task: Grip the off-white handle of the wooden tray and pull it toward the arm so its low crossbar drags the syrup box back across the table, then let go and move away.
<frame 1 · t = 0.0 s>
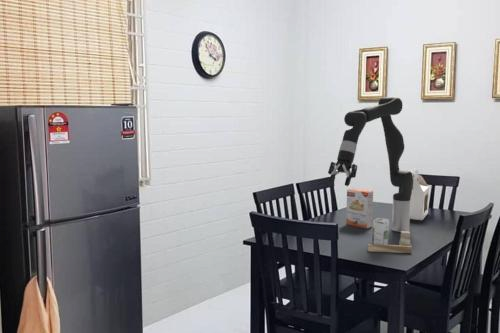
hand: (338, 184, 237), 31 cm above the table, tool tilted 20°, fingers open, 8 cm apart
cracker box: (358, 226, 288), on the table
gable box: (414, 216, 316), on the table
syrup box: (379, 249, 242), on the table
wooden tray: (388, 239, 243), point 4 cm above the table, slide at 0.0 cm
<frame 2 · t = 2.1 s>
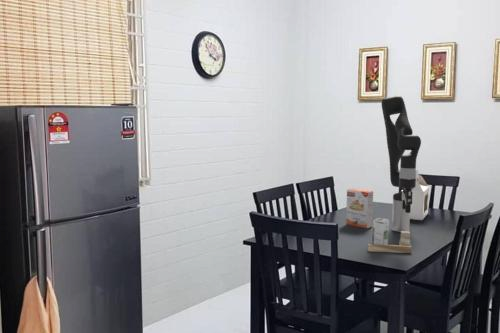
hand: (406, 210, 240), 19 cm above the table, tool pointing down, fingers open, 8 cm apart
nothing on the table moved.
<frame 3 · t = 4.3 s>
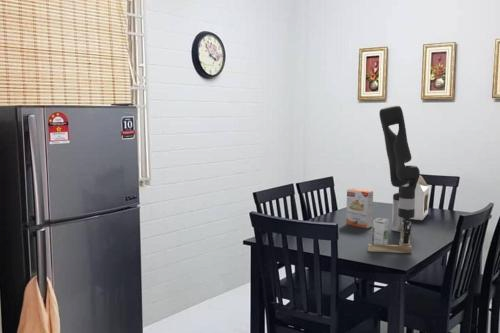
hand: (405, 242, 242), 3 cm above the table, tool pointing down, fingers closed on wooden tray, 3 cm apart
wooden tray: (388, 239, 243), point 4 cm above the table, slide at 0.0 cm, touching gripper
everything else where it was.
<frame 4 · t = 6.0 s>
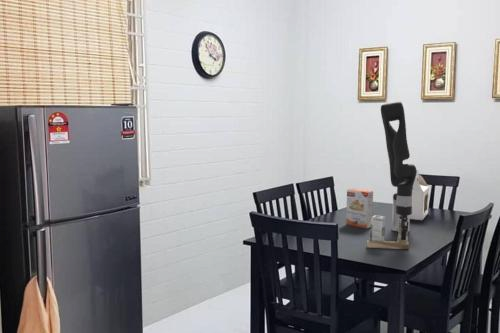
hand: (402, 238, 249), 3 cm above the table, tool pointing down, fingers closed on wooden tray, 3 cm apart
syrup box: (377, 245, 248), on the table
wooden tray: (386, 236, 250), point 4 cm above the table, slide at 6.5 cm, touching gripper
everything else where it was.
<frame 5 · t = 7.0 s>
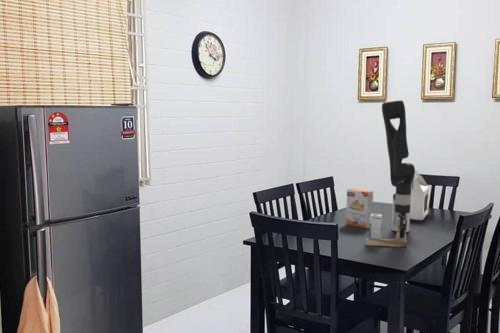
hand: (401, 236, 253), 3 cm above the table, tool pointing down, fingers closed on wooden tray, 3 cm apart
syrup box: (375, 243, 252), on the table, touching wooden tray
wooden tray: (385, 234, 254), point 4 cm above the table, slide at 10.7 cm, touching gripper, syrup box
everything else where it was.
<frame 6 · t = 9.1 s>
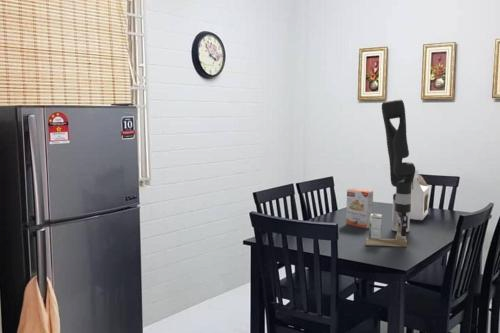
hand: (401, 233, 253), 4 cm above the table, tool pointing down, fingers open, 8 cm apart
syrup box: (374, 243, 252), on the table
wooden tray: (385, 233, 254), point 4 cm above the table, slide at 11.0 cm
everything else where it was.
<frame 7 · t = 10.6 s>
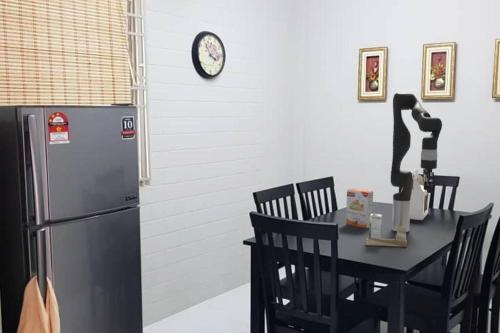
hand: (427, 191, 247), 27 cm above the table, tool pointing down, fingers open, 8 cm apart
nothing on the table moved.
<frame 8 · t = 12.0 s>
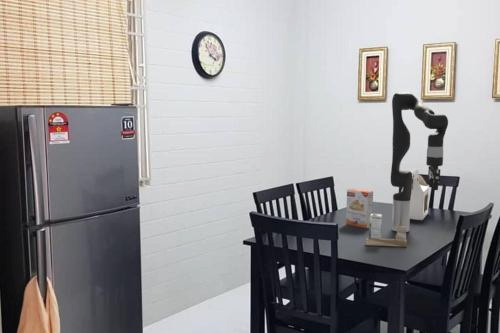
hand: (433, 188, 246), 28 cm above the table, tool pointing down, fingers open, 8 cm apart
nothing on the table moved.
at the end: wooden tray slide at 11.0 cm; syrup box inside the target area (1.8 cm from its centre), on the table; syrup box tilted 0° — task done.
